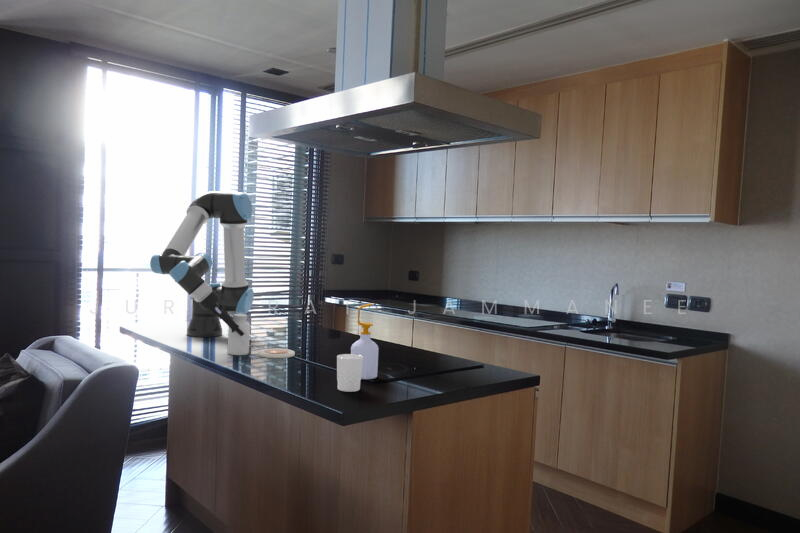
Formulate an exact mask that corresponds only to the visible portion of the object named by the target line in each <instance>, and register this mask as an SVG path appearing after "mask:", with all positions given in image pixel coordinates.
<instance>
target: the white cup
mask: <svg viewBox="0 0 800 533" xmlns="http://www.w3.org/2000/svg"><path fill="white" fill-rule="evenodd" d="M362 365H363V356H361V355H355V354H351V353H342V354H338V355H336V381H337V390H339V391H341V392H346V393H347V392H348V393H349V392H350V393H351V392H358V391H360V389H361V380H362V379H361V375H362Z"/></svg>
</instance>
